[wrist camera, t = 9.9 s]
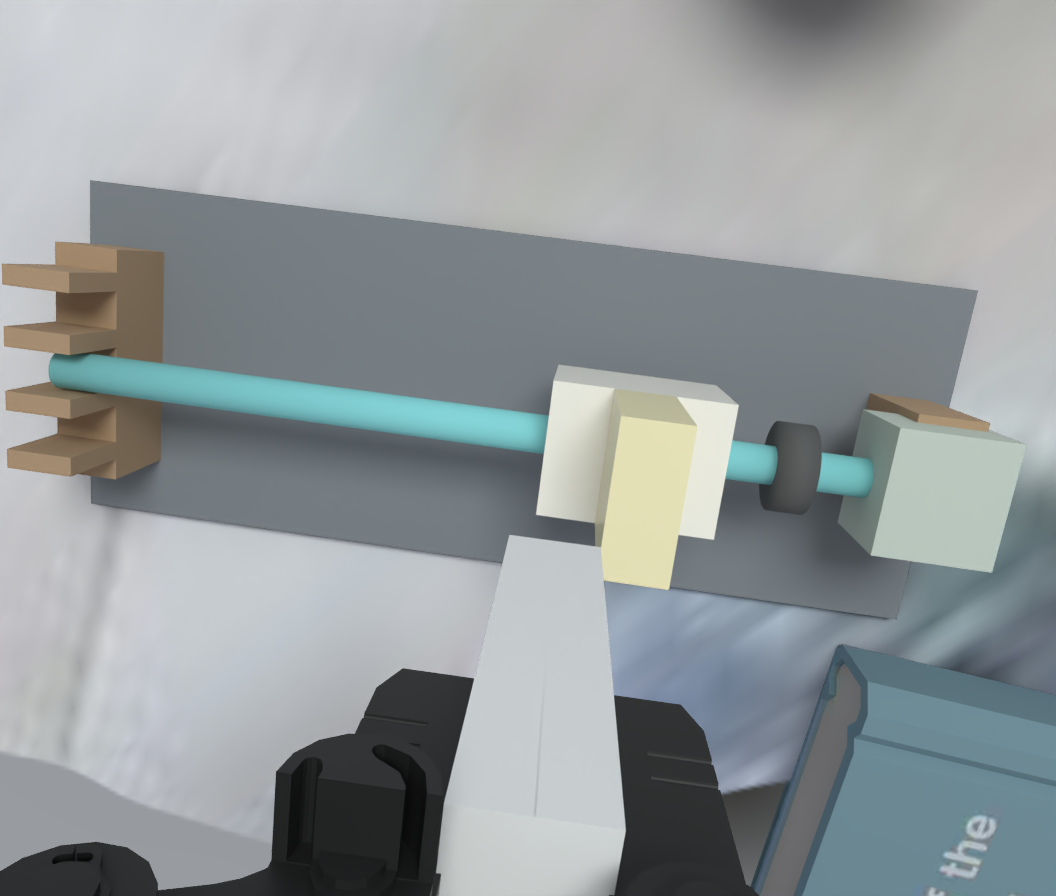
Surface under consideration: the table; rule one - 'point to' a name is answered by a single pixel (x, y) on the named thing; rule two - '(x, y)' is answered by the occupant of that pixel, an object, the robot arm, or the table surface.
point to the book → (917, 787)
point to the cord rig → (500, 389)
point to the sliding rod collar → (636, 465)
